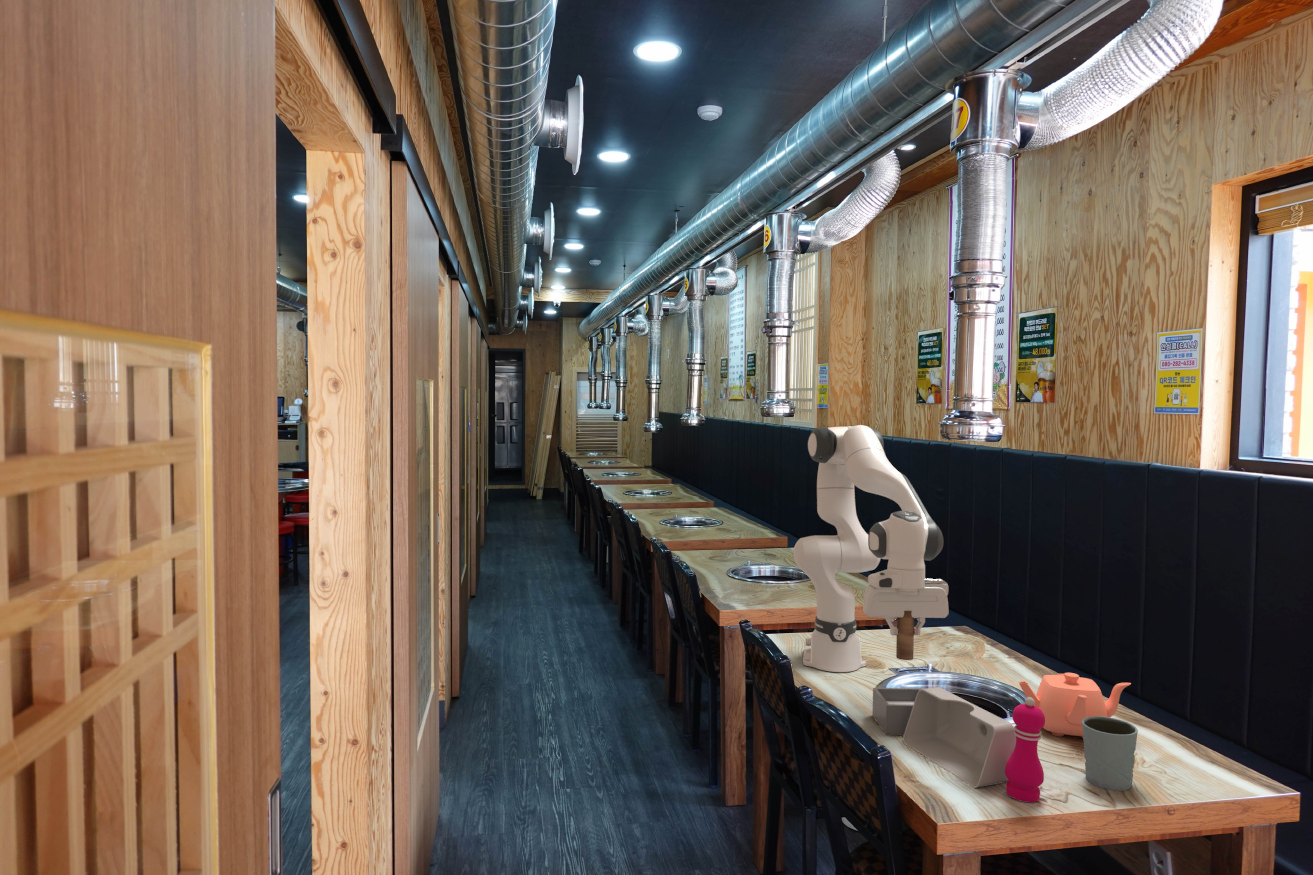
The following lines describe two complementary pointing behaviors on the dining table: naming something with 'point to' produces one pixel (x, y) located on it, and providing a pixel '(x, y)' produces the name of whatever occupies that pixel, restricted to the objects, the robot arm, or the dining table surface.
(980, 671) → the dining table surface
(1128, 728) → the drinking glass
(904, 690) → the box
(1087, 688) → the teapot
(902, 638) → the walnut peg
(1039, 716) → the pepper mill
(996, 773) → the beige storage bin
